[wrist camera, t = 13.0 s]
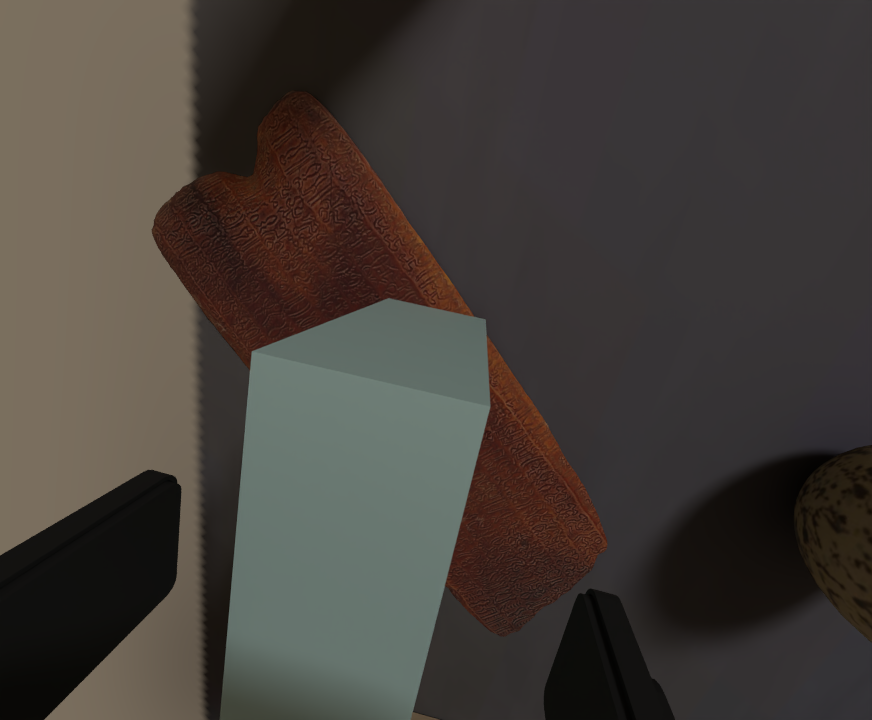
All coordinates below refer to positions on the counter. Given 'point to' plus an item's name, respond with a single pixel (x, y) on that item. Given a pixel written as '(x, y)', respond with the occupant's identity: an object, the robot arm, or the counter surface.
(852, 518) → the decorative egg
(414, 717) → the rack
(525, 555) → the wooden tablet
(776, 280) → the counter surface
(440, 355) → the tall board
